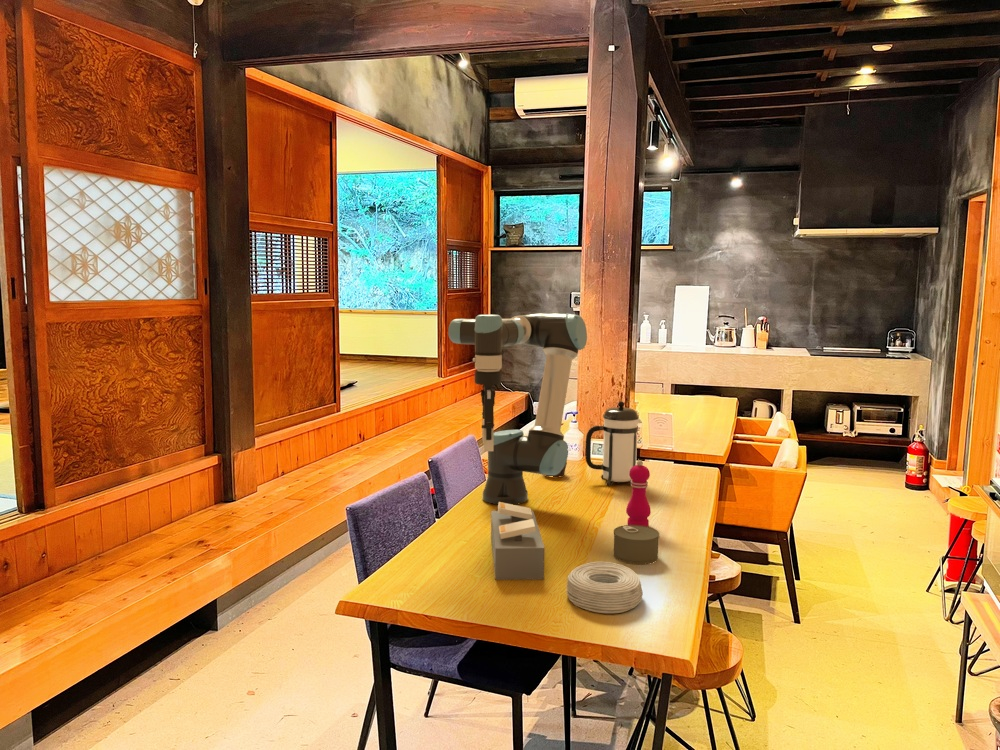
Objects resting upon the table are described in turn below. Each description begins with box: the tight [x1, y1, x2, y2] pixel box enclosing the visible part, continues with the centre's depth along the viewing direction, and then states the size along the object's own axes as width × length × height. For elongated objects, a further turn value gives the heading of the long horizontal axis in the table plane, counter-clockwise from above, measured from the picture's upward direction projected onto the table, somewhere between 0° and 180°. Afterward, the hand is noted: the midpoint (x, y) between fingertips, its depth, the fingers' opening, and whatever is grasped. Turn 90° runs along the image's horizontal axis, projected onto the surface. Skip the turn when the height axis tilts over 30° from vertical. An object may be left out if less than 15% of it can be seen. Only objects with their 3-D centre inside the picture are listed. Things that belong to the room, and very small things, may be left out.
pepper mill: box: [625, 460, 652, 527], centre depth 223 cm, size 7×7×20 cm
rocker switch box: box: [490, 510, 546, 581], centre depth 200 cm, size 36×12×9 cm, turn 3°
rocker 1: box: [497, 502, 532, 519], centre depth 204 cm, size 6×9×2 cm, turn 93°
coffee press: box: [585, 400, 643, 487], centre depth 270 cm, size 17×16×30 cm
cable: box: [566, 561, 644, 614], centre depth 172 cm, size 18×18×6 cm
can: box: [613, 524, 660, 566], centre depth 198 cm, size 12×12×7 cm
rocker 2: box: [499, 519, 536, 539], centre depth 189 cm, size 6×9×2 cm, turn 93°
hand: (487, 446), depth 211 cm, fingers open, 11 cm apart
